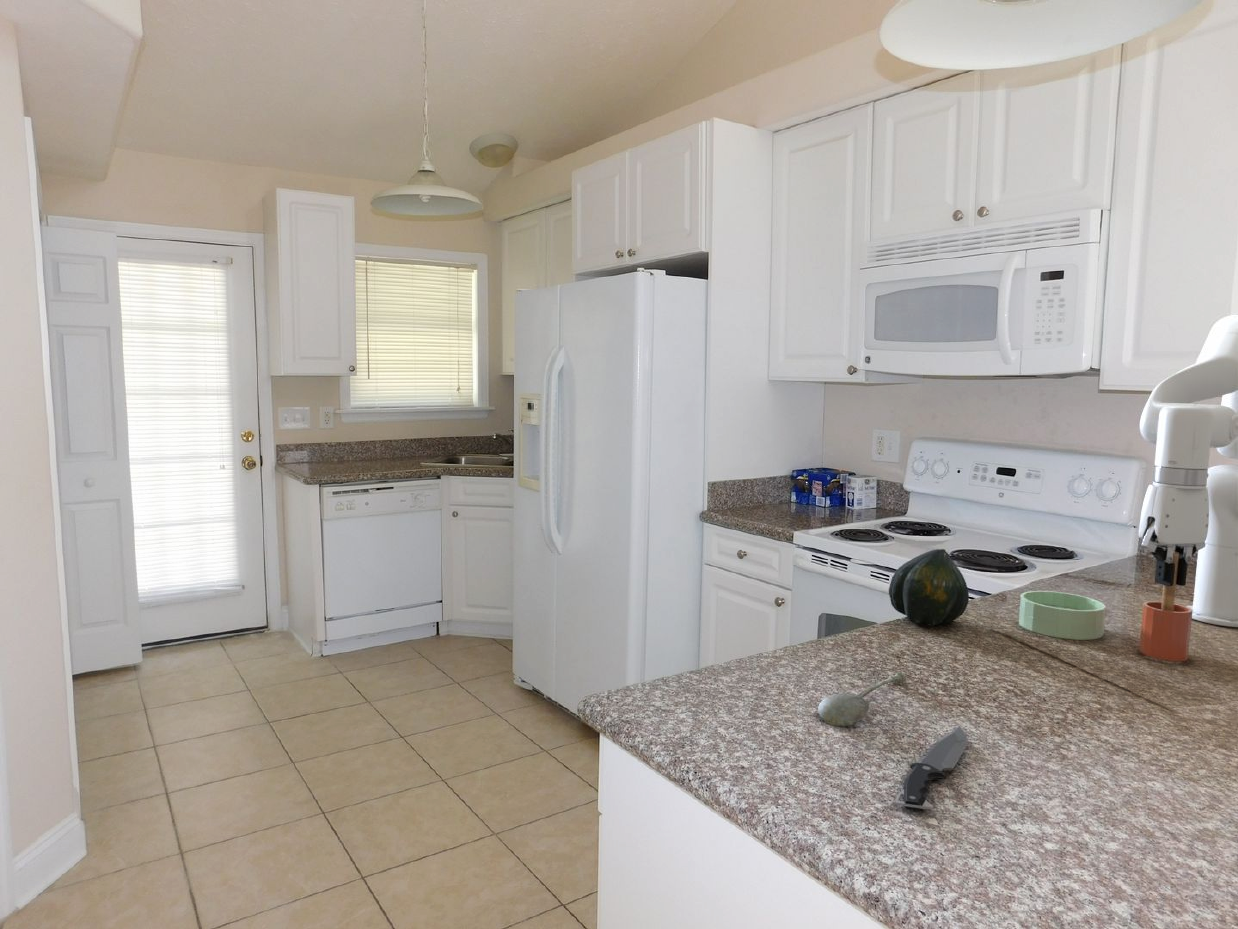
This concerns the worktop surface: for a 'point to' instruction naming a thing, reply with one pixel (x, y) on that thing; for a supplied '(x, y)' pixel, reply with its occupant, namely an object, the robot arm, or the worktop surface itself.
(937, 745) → the knife
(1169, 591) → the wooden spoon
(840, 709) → the soupspoon
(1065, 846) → the worktop surface
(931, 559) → the squash
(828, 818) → the worktop surface
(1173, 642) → the crock
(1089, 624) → the bowl
